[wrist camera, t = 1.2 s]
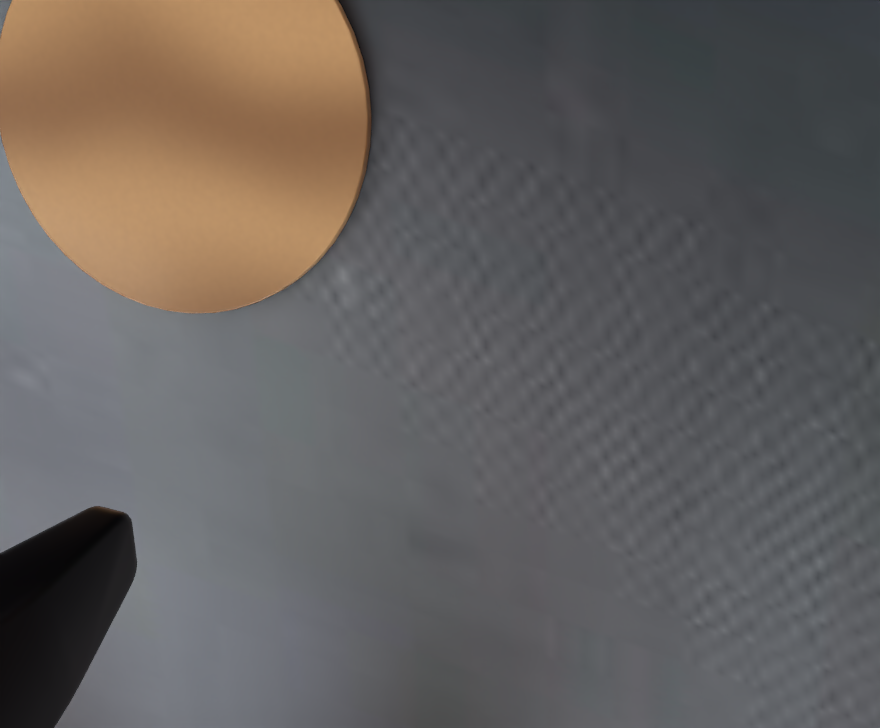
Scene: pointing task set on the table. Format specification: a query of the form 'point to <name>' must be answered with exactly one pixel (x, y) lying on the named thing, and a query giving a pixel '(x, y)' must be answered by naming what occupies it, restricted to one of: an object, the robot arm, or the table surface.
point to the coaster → (186, 140)
